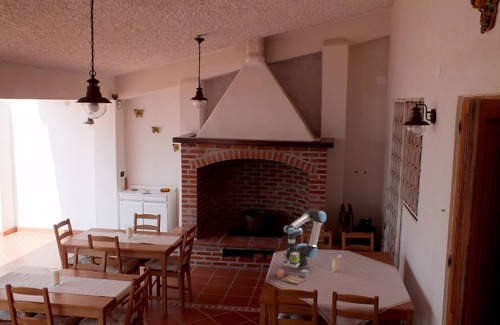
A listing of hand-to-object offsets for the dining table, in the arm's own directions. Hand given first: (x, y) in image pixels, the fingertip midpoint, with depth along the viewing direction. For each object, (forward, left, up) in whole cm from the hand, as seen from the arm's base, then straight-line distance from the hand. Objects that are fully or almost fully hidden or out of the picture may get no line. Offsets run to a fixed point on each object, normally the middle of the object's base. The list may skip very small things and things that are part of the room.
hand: (291, 262), depth 487 cm
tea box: (0, 0, -4) cm, 4 cm away
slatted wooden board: (+15, +13, -13) cm, 24 cm away
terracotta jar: (+16, -3, -13) cm, 21 cm away
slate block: (-3, +15, -13) cm, 20 cm away
